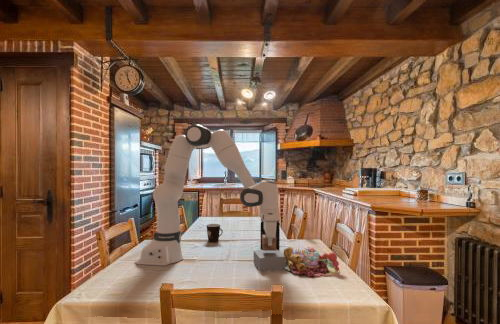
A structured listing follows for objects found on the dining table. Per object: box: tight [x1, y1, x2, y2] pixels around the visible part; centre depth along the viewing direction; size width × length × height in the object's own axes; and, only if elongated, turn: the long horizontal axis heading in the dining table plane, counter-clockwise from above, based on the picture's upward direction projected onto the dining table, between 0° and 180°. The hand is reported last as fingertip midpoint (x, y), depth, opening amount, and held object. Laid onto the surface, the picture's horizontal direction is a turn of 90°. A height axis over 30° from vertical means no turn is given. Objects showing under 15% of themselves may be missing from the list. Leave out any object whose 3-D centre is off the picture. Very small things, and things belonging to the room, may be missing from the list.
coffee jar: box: [260, 217, 281, 251], centre depth 157 cm, size 11×11×18 cm
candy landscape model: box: [283, 246, 340, 278], centre depth 132 cm, size 25×24×9 cm
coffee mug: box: [206, 223, 224, 243], centre depth 176 cm, size 12×9×10 cm
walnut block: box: [262, 235, 276, 251], centre depth 134 cm, size 6×6×6 cm
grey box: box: [253, 249, 286, 272], centre depth 134 cm, size 12×12×6 cm
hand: (269, 243), depth 134 cm, fingers closed on walnut block, 6 cm apart
